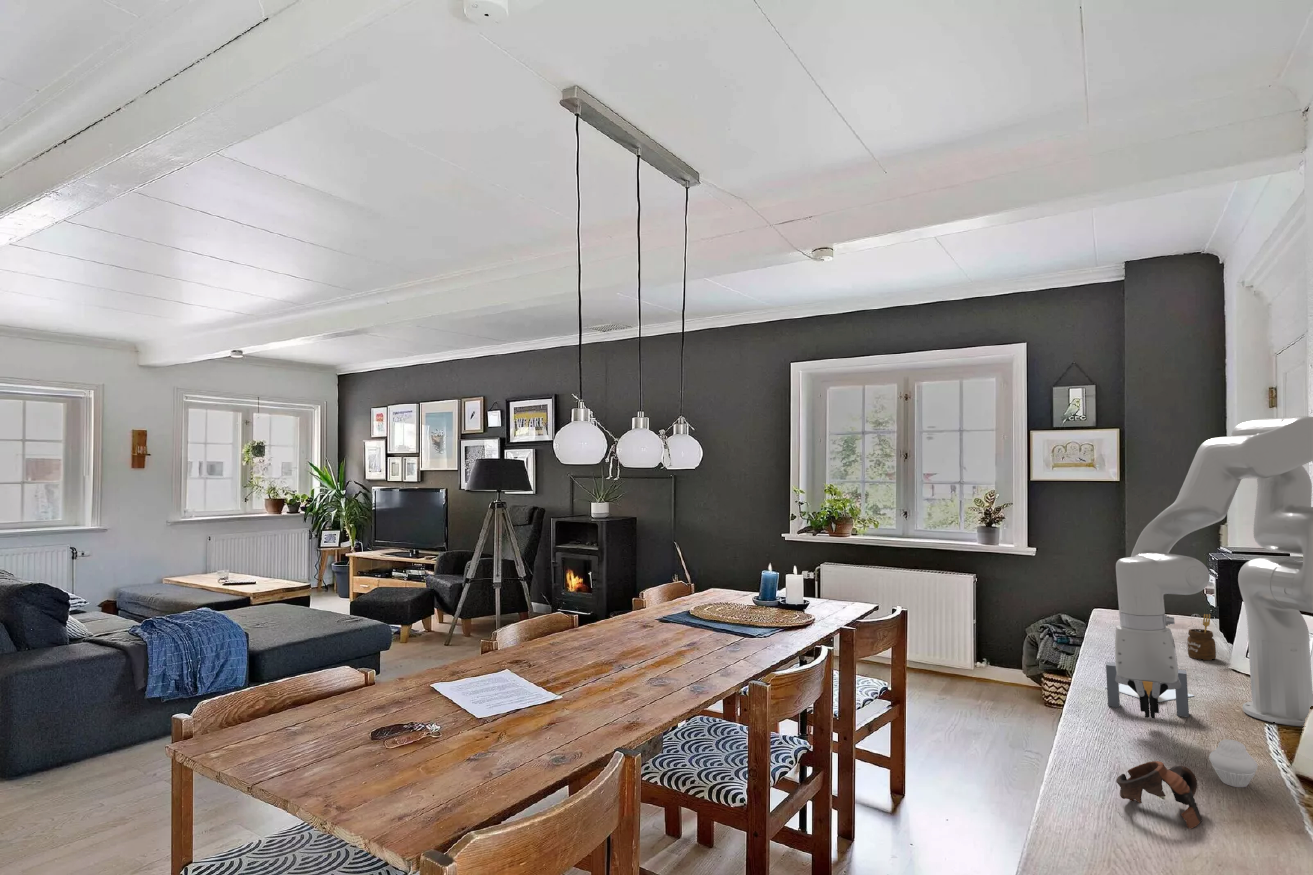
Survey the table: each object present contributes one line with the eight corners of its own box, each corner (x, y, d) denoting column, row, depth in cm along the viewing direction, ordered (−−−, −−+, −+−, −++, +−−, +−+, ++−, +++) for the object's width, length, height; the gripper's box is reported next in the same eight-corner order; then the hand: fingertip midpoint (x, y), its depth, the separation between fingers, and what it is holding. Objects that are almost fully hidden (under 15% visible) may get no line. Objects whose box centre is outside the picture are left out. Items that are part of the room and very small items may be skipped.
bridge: (1108, 702, 158) (1106, 661, 159) (1188, 713, 151) (1186, 670, 151) (1108, 706, 156) (1105, 665, 156) (1189, 717, 148) (1186, 673, 148)
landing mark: (1143, 681, 172) (1143, 680, 172) (1194, 696, 161) (1194, 695, 161) (1104, 687, 169) (1104, 686, 169) (1153, 703, 157) (1153, 702, 157)
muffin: (1251, 795, 114) (1248, 749, 114) (1204, 782, 119) (1202, 738, 119) (1264, 784, 117) (1261, 740, 118) (1218, 772, 122) (1215, 729, 123)
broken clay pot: (1186, 840, 102) (1147, 781, 105) (1131, 842, 110) (1096, 787, 113) (1232, 800, 107) (1193, 744, 110) (1177, 804, 115) (1142, 752, 118)
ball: (1145, 667, 161) (1144, 689, 158) (1166, 676, 161) (1166, 698, 158) (1128, 672, 165) (1128, 693, 163) (1149, 681, 165) (1149, 702, 162)
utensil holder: (1206, 655, 194) (1204, 609, 194) (1222, 661, 188) (1219, 614, 188) (1182, 655, 194) (1180, 609, 195) (1197, 661, 188) (1195, 614, 189)
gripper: (1188, 620, 142) (1196, 715, 142) (1099, 615, 151) (1106, 705, 150) (1190, 628, 136) (1198, 728, 135) (1096, 622, 145) (1104, 716, 144)
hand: (1150, 715), depth 143 cm, fingers closed
